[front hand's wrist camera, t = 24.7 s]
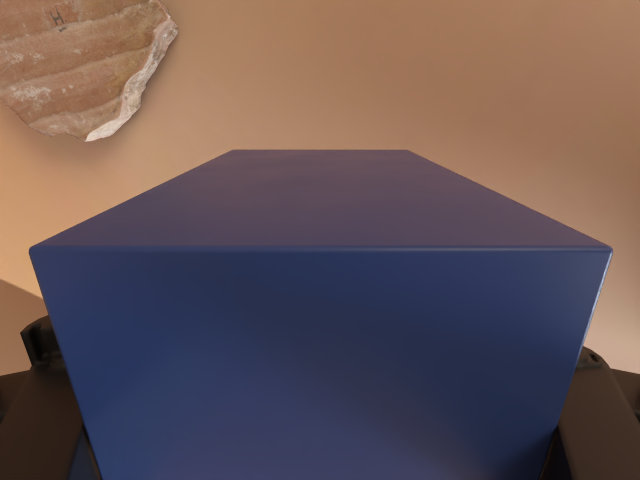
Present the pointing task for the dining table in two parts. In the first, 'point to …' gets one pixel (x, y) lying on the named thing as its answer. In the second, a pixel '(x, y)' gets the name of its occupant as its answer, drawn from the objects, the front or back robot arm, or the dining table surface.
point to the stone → (80, 61)
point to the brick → (320, 322)
